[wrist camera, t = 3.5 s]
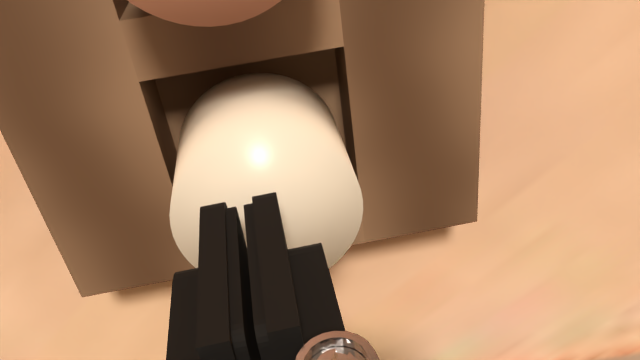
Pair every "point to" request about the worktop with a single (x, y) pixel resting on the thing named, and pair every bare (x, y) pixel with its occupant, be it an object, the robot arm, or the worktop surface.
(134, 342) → the worktop surface
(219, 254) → the robot arm
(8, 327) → the worktop surface
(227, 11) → the peach rounded dome
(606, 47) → the worktop surface
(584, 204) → the worktop surface
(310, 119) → the cream egg
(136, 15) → the button board
